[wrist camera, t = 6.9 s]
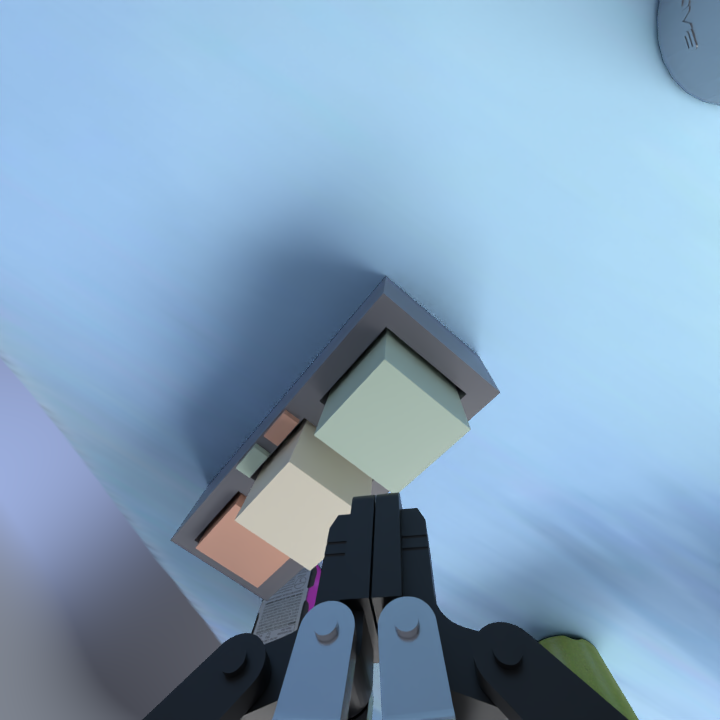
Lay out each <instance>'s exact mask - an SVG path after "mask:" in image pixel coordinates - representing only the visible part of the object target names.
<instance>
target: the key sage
mask: <svg viewBox="0 0 720 720" xmlns="http://www.w3.org/2000/svg"><path fill="white" fill-rule="evenodd" d="M469 430H471V429H470V426H469V423H468V420H467V417H466V415H465V412H464V409H463V406H462V403H461V400H460V397H459V395H458V392H457V389H456V386H455V384H454V383H453V382H452V381H450V380H449V379H448V378H447V377H446V376H444V375H443V374H442V373H441V372H440V371H438V370H437V369H436V368H435V367H434V366H432V365H431V364H430V363H429V362H428V361H427V360H425V359H424V358H423V357H422V356H421V355H419V354H418V353H417V352H416V351H415V350H413V349H412V348H411V347H410V346H409V345H407V344H406V343H405V342H404V341H403V340H401V339H400V338H399V337H398V336H397V335H395V334H394V333H393V332H392V331H391V330H389V329H388V328H387V327H386V328H385V330H384V331H383V332H382V333H381V334H380V335H379V336H378V337H377V338H376V340H375V341H374V342H373V343H372V344H371V345H370V346H369V347H368V348H367V350H366V351H365V352H364V353H363V354H362V355H361V356H360V357H359V358H358V360H357V361H356V362H355V363H354V364H353V365H352V366H351V367H350V368H349V370H348V371H347V372H346V373H345V374H344V375H343V376H342V377H341V378H340V380H339V381H338V382H337V383H336V384H335V385H334V386H333V387H332V388H331V390H330V393H329V396H328V398H327V401H326V404H325V406H324V409H323V412H322V415H321V417H320V420H319V423H318V425H317V428H316V431H315V433H314V436H316V437H317V438H318V439H320V440H321V441H322V442H324V443H325V444H326V445H328V446H329V447H330V448H332V449H333V450H334V451H336V452H337V453H339V454H340V455H341V456H343V457H344V458H345V459H347V460H348V461H349V462H351V463H352V464H353V465H355V466H356V467H357V468H359V469H360V470H361V471H363V472H364V473H365V474H367V475H368V476H370V477H371V478H372V479H374V480H375V481H376V482H378V483H379V484H380V485H382V486H383V487H384V488H386V489H387V490H388V491H390V492H391V493H398V492H400V491H401V490H402V489H404V488H405V487H406V486H407V485H408V484H409V483H410V482H411V481H413V480H414V479H415V478H416V477H417V476H418V475H419V474H421V473H422V472H423V471H424V470H425V469H426V468H427V467H429V466H430V465H431V464H432V463H433V462H434V461H435V460H436V459H438V458H439V457H440V456H441V455H442V454H443V453H444V452H446V451H447V450H448V449H449V448H450V447H451V446H452V445H454V444H455V443H456V442H457V441H458V440H459V439H460V438H461V437H463V436H464V435H465V434H466V433H467V432H468V431H469Z"/></svg>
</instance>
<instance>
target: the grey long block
mask: <svg viewBox="0 0 720 720" xmlns="http://www.w3.org/2000/svg"><path fill="white" fill-rule="evenodd" d="M386 327H387V328H388V329H389V330H391V331H392V332H393V333H394V334H395V335H397V336H398V337H399V338H400V339H401V340H403V341H404V342H405V343H406V344H407V345H409V346H410V347H411V348H412V349H413V350H415V351H416V352H417V353H418V354H419V355H421V356H422V357H423V358H424V359H425V360H427V361H428V362H429V363H430V364H431V365H432V366H434V367H435V368H436V369H437V370H438V371H440V372H441V373H442V374H443V375H444V376H446V377H447V378H448V379H449V380H450V381H452V382H453V383H454V384H455V386H456V389H457V392H458V395H459V397H460V400H461V403H462V406H463V409H464V412H465V415H466V417H467V420H468V421H469V420H470V419H471V418H472V417H473V416H474V415H476V414H477V413H478V412H479V411H480V410H481V409H482V408H483V407H484V406H486V405H487V404H488V403H489V402H490V401H491V400H492V399H493V398H495V397H496V396H497V395H498V394H499V393H500V391H499V390H498V388H497V386H496V385H495V383H494V381H493V379H492V378H491V376H490V374H489V373H488V371H487V369H486V368H485V366H484V364H483V363H482V361H481V359H480V357H479V356H478V355H477V354H476V353H475V352H473V351H472V350H471V349H470V348H469V347H468V346H467V345H465V344H464V343H463V342H462V341H461V340H460V339H458V338H457V337H456V336H455V335H454V334H453V333H451V332H450V331H449V330H448V329H447V328H446V327H445V326H443V325H442V324H441V323H440V322H439V321H438V320H436V319H435V318H434V317H433V316H432V315H431V314H429V313H428V312H427V311H426V310H425V309H424V308H423V307H421V306H420V305H419V304H418V303H417V302H416V301H414V300H413V299H412V298H411V297H410V296H409V295H407V294H406V293H405V292H404V291H403V290H402V289H401V288H399V287H398V286H397V285H396V284H395V283H394V282H392V281H391V280H390V279H389V278H388V277H387V276H386V277H385V278H384V279H383V280H382V281H381V283H380V284H379V285H378V286H377V287H376V289H375V290H374V291H373V292H372V293H371V294H370V296H369V297H368V298H367V299H366V300H365V301H364V303H363V304H362V305H361V306H360V307H359V309H358V310H357V311H356V312H355V313H354V314H353V316H352V317H351V318H350V319H349V320H348V322H347V323H346V324H345V325H344V326H343V327H342V329H341V330H340V331H339V332H338V333H337V335H336V336H335V337H334V338H333V339H332V340H331V342H330V343H329V344H328V345H327V346H326V347H325V349H324V350H323V351H322V352H321V353H320V355H319V356H318V357H317V358H316V359H315V360H314V362H313V363H312V364H311V365H310V366H309V368H308V369H307V370H306V371H305V372H304V373H303V375H302V376H301V377H300V378H299V379H298V381H297V382H296V383H295V384H294V385H293V386H292V388H291V389H290V390H289V391H288V392H287V394H286V395H285V396H284V397H283V398H282V399H281V401H280V402H279V403H278V404H277V405H276V406H275V408H274V409H273V410H272V411H271V412H270V414H269V415H268V416H267V417H266V418H265V419H264V421H263V422H262V423H261V424H260V425H259V427H258V428H257V429H256V430H255V431H254V432H253V434H252V435H251V436H250V437H249V438H248V440H247V441H246V442H245V443H244V444H243V445H242V447H241V448H240V449H239V450H238V451H237V452H236V454H235V455H234V456H233V457H232V458H231V460H230V461H229V462H228V463H227V464H226V465H225V467H224V468H223V469H222V470H221V471H220V473H219V474H218V475H217V476H216V477H215V478H214V480H213V481H212V482H211V483H210V484H209V486H208V487H207V488H206V490H205V491H204V493H203V494H202V495H201V497H200V498H199V500H198V501H197V503H196V504H195V506H194V507H193V508H192V510H191V511H190V513H189V514H188V516H187V517H186V519H185V520H184V521H183V523H182V524H181V526H180V527H179V529H178V530H177V532H176V533H175V534H174V536H173V537H172V539H171V541H172V542H174V543H175V544H177V545H179V546H180V547H182V548H183V549H185V550H186V551H188V552H190V553H191V554H193V555H194V556H196V557H198V558H199V559H201V560H202V561H204V562H205V563H207V564H209V565H210V566H212V567H213V568H215V569H216V570H218V571H220V572H221V573H223V574H224V575H226V576H227V577H229V578H231V579H232V580H234V581H235V582H237V583H238V584H240V585H242V586H243V587H245V588H246V589H248V590H249V591H251V592H253V593H254V594H256V595H257V596H259V597H261V598H262V599H264V600H265V601H267V600H268V599H269V598H271V597H272V596H273V595H274V594H275V593H276V592H277V591H278V590H279V589H281V588H282V587H283V586H284V585H285V584H286V583H287V582H288V581H290V580H291V579H292V578H293V577H294V576H295V575H296V574H297V573H299V572H300V571H301V570H302V569H303V568H304V567H303V566H302V565H300V564H299V563H297V562H296V561H294V560H293V559H291V558H290V559H288V560H287V561H286V562H285V563H284V564H283V565H282V566H281V567H280V568H279V569H278V570H277V571H275V572H274V573H273V574H272V575H271V576H270V577H269V578H268V579H267V580H266V581H265V582H264V583H263V584H261V585H260V586H259V587H258V588H257V587H255V586H254V585H252V584H250V583H249V582H247V581H246V580H244V579H243V578H241V577H240V576H238V575H236V574H235V573H233V572H232V571H230V570H229V569H227V568H225V567H224V566H222V565H221V564H219V563H218V562H216V561H214V560H213V559H211V558H210V557H208V556H207V555H205V554H204V553H202V552H200V551H199V550H197V549H196V546H197V545H198V543H199V541H200V540H201V538H202V536H203V535H204V533H205V531H206V530H207V528H208V526H209V525H210V523H211V521H212V520H213V519H214V518H215V516H216V515H217V514H218V513H219V512H220V511H221V510H222V509H223V508H224V506H225V505H226V504H227V503H228V502H229V501H230V500H231V499H232V497H233V496H234V495H235V494H236V493H237V492H238V491H239V492H240V493H242V494H243V495H245V496H246V497H247V496H248V494H249V492H250V490H251V488H252V486H253V484H254V482H255V480H256V479H257V477H258V475H259V473H260V471H261V469H262V467H263V465H264V463H265V462H266V461H267V460H268V459H269V457H270V456H271V455H272V454H273V453H274V452H275V451H276V450H277V449H278V447H279V446H280V445H281V444H282V443H283V442H284V441H285V440H286V439H287V437H288V436H289V435H290V434H291V433H292V432H293V431H294V430H295V429H296V427H297V426H298V425H299V424H300V423H301V422H302V421H303V420H304V419H307V420H308V421H309V422H311V423H312V424H313V425H315V426H316V427H317V425H318V423H319V420H320V417H321V415H322V412H323V409H324V406H325V404H326V401H327V398H328V396H329V393H330V390H331V388H332V387H333V386H334V385H335V384H336V383H337V382H338V381H339V380H340V378H341V377H342V376H343V375H344V374H345V373H346V372H347V371H348V370H349V368H350V367H351V366H352V365H353V364H354V363H355V362H356V361H357V360H358V358H359V357H360V356H361V355H362V354H363V353H364V352H365V351H366V350H367V348H368V347H369V346H370V345H371V344H372V343H373V342H374V341H375V340H376V338H377V337H378V336H379V335H380V334H381V333H382V332H383V331H384V330H385V328H386ZM388 492H389V491H388V490H387V489H386V488H384V487H383V486H382V485H380V484H379V483H378V482H376V481H375V480H374V479H372V490H371V495H376V496H377V494H387V493H388Z"/></svg>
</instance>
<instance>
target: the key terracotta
mask: <svg viewBox="0 0 720 720" xmlns="http://www.w3.org/2000/svg"><path fill="white" fill-rule="evenodd" d="M245 499H246V496H245V495H243V494H242V493H240V492H239V491H238V492H237V493H236V494H235V495H234V496H233V497H232V499H231V500H230V501H229V502H228V503H227V504H226V505H225V506H224V508H223V509H222V510H221V511H220V512H219V513H218V514H217V515H216V516H215V518H214V519H213V520H212V521H211V523H210V525H209V526H208V528H207V530H206V531H205V533H204V535H203V536H202V538H201V540H200V541H199V543H198V545H197V546H196V549H197V550H199V551H200V552H202V553H204V554H205V555H207V556H208V557H210V558H211V559H213V560H214V561H216V562H218V563H219V564H221V565H222V566H224V567H225V568H227V569H229V570H230V571H232V572H233V573H235V574H236V575H238V576H240V577H241V578H243V579H244V580H246V581H247V582H249V583H250V584H252V585H254V586H255V587H257V588H258V587H259V586H260V585H261V584H263V583H264V582H265V581H266V580H267V579H268V578H269V577H270V576H271V575H272V574H273V573H274V572H275V571H277V570H278V569H279V568H280V567H281V566H282V565H283V564H284V563H285V562H286V561H287V560H288V559H290V557H288V556H287V555H285V554H284V553H282V552H281V551H279V550H278V549H276V548H275V547H273V546H272V545H270V544H269V543H267V542H266V541H264V540H263V539H261V538H260V537H258V536H257V535H255V534H254V533H252V532H251V531H249V530H248V529H246V528H245V527H243V526H242V525H240V524H239V523H237V522H236V521H234V520H235V518H236V516H237V515H238V513H239V511H240V509H241V507H242V505H243V503H244V501H245Z"/></svg>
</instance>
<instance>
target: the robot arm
mask: <svg viewBox="0 0 720 720" xmlns="http://www.w3.org/2000/svg"><path fill="white" fill-rule="evenodd" d="M657 20H658V41H659V45H660V49H661V53H662V57H663V61H664V63H665V65H666V67H667V68H668V70H669V72H670V74H671V76H672V78H673V79H674V80H675V81H676V82H677V83H678V84H679V85H680V86H681V87H682V88H683V89H684V91H685V92H687V93H689V94H690V95H692V96H694V97H696V98H697V99H699V100H701V101H704V102H708V103H712V104H716V105H720V0H660V2H659V8H658V14H657ZM324 555H325V557H324V559H323V564H322V569H321V575H320V580H319V585H318V590H317V595H316V600H315V605H314V607H313V608H312V609H311V610H310V611H309V612H308V613H307V614H306V615H305V617H304V618H303V620H302V622H301V624H300V627H299V628H298V629H297V630H295V631H294V632H292V633H291V634H288V635H286V636H284V637H281V638H279V639H276V640H274V641H271V642H269V643H266V644H263V641H262V640H261V639H260V638H259V637H258V636H256V635H254V634H251V633H244V634H239V635H236V636H234V637H232V638H230V639H228V640H227V641H226V642H224V643H223V644H222V645H221V646H220V647H219V648H218V649H217V650H216V651H214V652H213V653H212V655H210V656H209V657H208V658H207V659H206V660H205V661H204V662H203V663H202V664H201V665H200V666H199V667H198V668H197V669H196V670H194V671H193V672H192V673H191V674H190V675H189V676H188V677H187V678H186V679H185V680H184V681H183V682H182V683H181V684H180V685H179V686H177V688H175V689H174V690H173V691H172V692H171V693H170V694H169V695H168V696H167V697H166V698H165V699H164V700H163V701H162V702H161V703H160V704H158V705H157V706H156V707H155V708H154V709H153V710H152V711H151V712H150V713H149V714H148V715H147V716H146V717H145V718H144V719H143V720H372V712H373V698H374V696H373V690H372V686H373V663H379V666H380V688H381V710H382V720H629V719H627V718H626V717H625V716H624V715H623V714H621V713H620V712H619V711H618V710H617V709H616V708H614V707H613V706H612V705H611V704H610V703H609V702H607V701H606V700H605V699H604V698H603V697H602V696H600V695H599V694H598V693H597V692H596V691H595V690H593V689H592V688H591V687H590V686H589V685H588V684H586V683H585V682H584V681H583V680H582V679H581V678H579V677H578V676H577V675H576V674H575V673H574V672H572V671H571V670H570V669H569V668H568V667H567V666H565V665H564V664H563V663H562V662H561V661H560V660H558V659H557V658H556V657H555V656H554V655H553V654H551V653H550V652H549V651H548V650H547V649H546V648H544V647H543V646H542V645H541V644H540V643H539V642H537V641H536V640H535V639H534V638H533V637H532V636H530V635H529V634H528V633H527V632H525V631H524V630H523V629H521V628H519V627H518V626H515V625H513V624H509V623H505V622H496V623H491V624H488V625H487V626H485V627H483V628H482V629H481V630H480V631H475V630H472V629H468V628H465V627H462V626H459V625H457V624H455V623H453V622H452V621H450V620H449V619H448V618H446V617H445V616H444V615H443V613H442V612H441V611H440V609H439V608H438V606H437V604H436V595H435V587H434V579H433V571H432V562H431V555H430V548H429V541H428V534H427V528H426V521H425V519H424V517H423V516H422V514H421V513H420V511H419V510H418V509H417V508H412V509H402V504H401V499H400V494H399V492H398V493H387V494H377V496H376V495H367V496H357V497H353V499H352V505H351V513H350V514H345V515H338V516H337V518H336V519H335V521H334V522H333V524H332V525H331V527H330V528H329V533H328V538H327V545H326V549H325V554H324Z"/></svg>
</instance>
